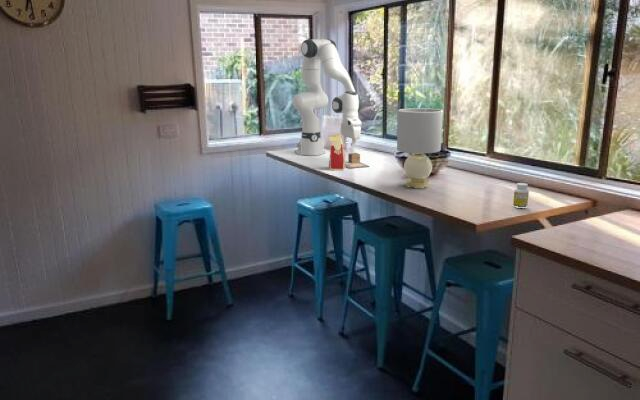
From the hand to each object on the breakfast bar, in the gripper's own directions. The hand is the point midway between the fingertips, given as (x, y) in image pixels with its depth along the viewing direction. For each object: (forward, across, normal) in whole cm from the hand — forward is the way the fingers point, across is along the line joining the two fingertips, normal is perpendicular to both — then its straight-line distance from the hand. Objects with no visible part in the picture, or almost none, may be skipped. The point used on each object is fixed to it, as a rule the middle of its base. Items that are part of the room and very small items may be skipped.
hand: (349, 145), depth 289 cm
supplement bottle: (+8, +110, +26) cm, 113 cm away
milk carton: (+11, +10, -12) cm, 19 cm away
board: (+11, +5, 0) cm, 12 cm away
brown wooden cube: (+10, +1, +3) cm, 11 cm away
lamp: (+9, +62, +8) cm, 63 cm away
